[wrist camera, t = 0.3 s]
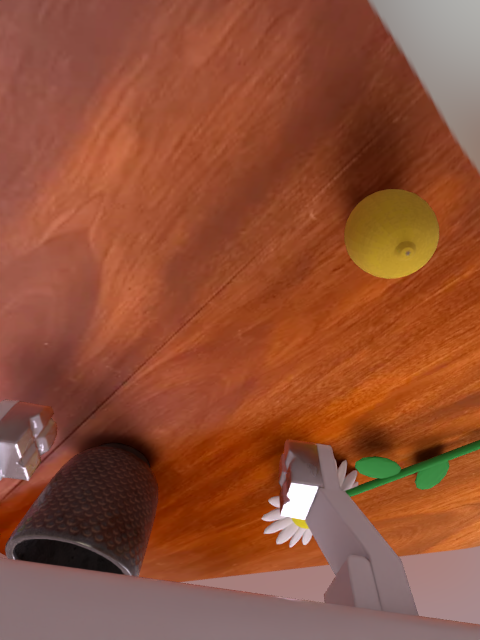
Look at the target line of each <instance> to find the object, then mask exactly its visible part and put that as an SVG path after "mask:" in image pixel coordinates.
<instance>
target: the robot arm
mask: <svg viewBox="0 0 480 640" xmlns="http://www.w3.org/2000/svg"><path fill="white" fill-rule="evenodd" d="M53 414H54V412H53V409H52V407H50V406H45V405H39V404H33V403H27V402H21V401H14V400H8V399H5V400H3V401H1V402H0V480H1V479H2V477H4V478H13V479H22V480H29V479H30V477H31V476H32V475H33V473H34V472H35V470H36V469H37V467H38V466H39V464H40V463H41V457H40V455H42V454H44V453H45V452H47V451H49V449H50V448H51V446H52V445H53V443H54V441H55V438H56V435H57V424H56V422H55V421H54V420H53V419H52V418H51V417H52V416H53ZM279 484H280V485H281V487H282V488H281V492H280V495H279V502H280V516H285V517H291V518H297V519H303V520H306V521H305V522H306V524H307V525H308V527H309V529H310V531H311V533H312V534H313V536H314V538H315V540H316V541H317V543H318V545H319V547H320V549H321V550H322V552H323V554H324V556H325V558H326V559H327V561H328V563H329V565H330V566H331V568H332V570H333V572H334V574H335V575H336V577H335V578H334V580H333V581H332V583H331V585H330V586H329V588H328V589H327V591H326V593H325V594H324V600H325V603H321V602H315V601H308V600H300V599H293V598H285V597H279V596H272V595H264V594H257V593H250V592H243V591H236V590H229V589H221V588H214V587H207V586H200V585H193V584H186V583H179V582H172V581H165V580H157V579H150V578H143V577H136V576H129V575H122V574H115V573H107V572H100V571H93V570H86V569H79V568H72V567H65V566H57V565H50V564H43V563H36V562H29V561H22V560H14V559H7V558H0V640H480V625H479V624H472V623H465V622H458V621H451V620H443V619H436V618H429V617H422V616H419V615H418V612H417V609H416V606H415V603H414V599H413V596H412V593H411V590H410V587H409V583H408V580H407V577H406V574H405V571H404V567H403V564H402V561H401V559H400V558H399V557H398V556H397V555H396V553H395V552H394V551H393V550H392V548H391V547H390V546H389V545H388V543H387V542H386V541H385V540H384V538H383V537H382V536H381V535H380V534H379V532H378V531H377V530H376V529H375V527H374V526H373V525H372V524H371V522H370V521H369V520H368V519H367V517H366V516H365V515H364V514H363V513H362V511H361V510H360V509H359V508H358V506H357V505H356V504H355V503H354V501H353V500H352V499H351V498H350V496H349V495H348V494H347V493H346V492H345V491H341V488H340V483H339V479H338V474H337V469H336V465H335V460H334V455H333V451H332V448H331V446H330V445H323V444H315V443H311V442H303V441H295V440H286V442H285V445H284V453H283V454H282V455H281V459H280V464H279Z"/></svg>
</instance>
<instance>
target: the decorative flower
mask: <svg viewBox="0 0 480 640" xmlns="http://www.w3.org/2000/svg"><path fill="white" fill-rule="evenodd" d="M478 449H480V440H478V441H475V442H473V443H470V444H467V445H465V446H462V447H459V448H457V449H454V450H451V451H449V452H446V453H444V454H441V455H438V456H436V457H433V458H430V459H428V460H425V461H422V462H420V463H417V464H414V465H412V466H409V467H406V468H404V469H401V468H400V466H399V465H398V464H397V463H396V462H394V461H392V460H390V459H387V458H382V457H376V456H374V457H365V458H362V459H360V460H359V461H357V462H356V464H355V468H356V469H357V470H358V471H359V473H361V474H363V475H366V476H368V477H373V478H377V479H375V480H372V481H369V482H367V483H364V484H361V485H359V486H358V482H355V479H356V476H357V470H353V471H352V472H351V473H349V474H348V475H347V476H346V477H345V474H346V470H347V462H346V460H345V461H343V462H342V463H341V465H340V467H339V468H338V470H337V474H338V479H339V483H340V488H341V491H345V492H346V493H347V494H348V495H349V496H350V497H351V496H354V495H357V494H360V493H362V492H365V491H368V490H370V489H373V488H376V487H378V486H381V485H384V484H387V483H389V482H392V481H395V480H397V479H400V478H403V477H405V476H408V475H411V474H413V473H416V472H418V474H417V477H416V480H415V483H416V486H417V488H419V489H422V490H423V489H429V488H432V487H433V486H435V485H436V484H438V483H440V481H441V480H442V479H443V478H444V476H445V475H446V473H447V471H448V469H449V463H448V460H451V459H454V458H457V457H459V456H462V455H465V454H467V453H470V452H473V451H475V450H478ZM334 460H335V459H334ZM335 465H336V469H337V464H336V460H335ZM354 482H355V483H354ZM268 501H269V503H270V504H272V505H273V506H275V507H280V502H279V496H275V497H272V498H270V499H269V500H268ZM262 519H263V520H264V521H274V520H277V521H275V522H273V523H272V524H271V525H269V526H268V527H267V528H266V529H265V531H264V533H266V534H269V533H274V532H277V531H279V530H282V529H283V530H282V531H281V532H280V534H279V536H278V538H277V540H276V543H277V544H282V543H284V542H285V541H287V540H288V539H289V538H291V537H292V536H293V537H292V538H291V541H290V544H289V546H290V547H292V546H294V545H295V544H296V543H297V542H298V540H299V539H300V538H301V536H302V535H303V538H302V542H303V545H306V544H307V543H308V542H309V541H310V539H311V537H312V533H311V531H310V529H309V527H308V525H307V524H306V522H305V521H306V520H303V519H297V518H291V517H285V516H280V508H278V509H275V510H272V511H270V512H269V513H267V514H265V515H264V516H263V517H262Z"/></svg>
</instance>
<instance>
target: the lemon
mask: <svg viewBox="0 0 480 640" xmlns="http://www.w3.org/2000/svg"><path fill="white" fill-rule="evenodd" d="M344 240H345V245H346V248H347V252H348V254H349V255H350V257H351V258H352V260H353V261H354V263H355V264H356V265H357V266H359V267H360V268H361V269H362V270H363V271H365V272H367V273H369V274H371V275H374V276H376V277H381V278H386V279H389V278H400V277H404V276H407V275H410V274H412V273H414V272H416V271H417V270H419V269H420V268H421V267H422V266H424V265H425V264H426V263H427V262H428V260H429V259H430V258H431V257H432V255H433V253H434V252H435V250H436V247H437V244H438V240H439V225H438V222H437V218H436V215H435V213H434V211H433V210H432V209H431V207H430V206H429V205H428V203H427V202H426V201H425V200H423V199H422V198H420V197H419V196H418V195H416V194H414V193H411V192H408V191H405V190H402V189H387V190H382V191H378V192H375V193H373V194H371V195H369V196H367V197H366V198H364V199H363V200H362V201H360V202H359V203H358V204H357V205H356V207H355V208H354V209H353V210H352V212H351V214H350V215H349V217H348V219H347V222H346V226H345V230H344Z"/></svg>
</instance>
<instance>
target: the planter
mask: <svg viewBox="0 0 480 640" xmlns="http://www.w3.org/2000/svg"><path fill="white" fill-rule="evenodd" d="M157 503H158V484H157V480H156V477H155V475H154V473H153V471H152V470H151V468H150V465H149V462H148V460H147V459H146V458H145V457H144V455H143V454H141V453H140V452H139V451H137V450H136V449H134V448H132V447H129V446H127V445H123V444H119V443H108V444H103V445H101V446H99V447H94V448H90V449H87V450H84V451H82V452H80V453H78V454H77V455H75V456H74V457H73V458H71V459H70V460H69V461H68V462H67V463H66V464H65V465H64V466H63V467H62V468H61V469H60V470H59V471H58V472H57V473H56V475H55V476H54V477H53V478H52V480H51V481H50V482H49V483H48V485H47V486H46V487H45V489H44V490H43V491H42V493H41V494H40V495H39V497H38V498H37V499H36V501H35V502H34V504H33V505H32V506H31V508H30V509H29V510H28V512H27V513H26V515H25V516H24V518H23V519H22V520H21V522H20V523H19V525H18V526H17V527H16V529H15V530H14V532H13V533H12V535H11V536H10V538H9V540H8V542H7V543H6V548H5V551H6V556H7V558H8V559H14V560H22V561H29V562H36V563H43V564H50V565H57V566H65V567H72V568H79V569H86V570H93V571H100V572H107V573H115V574H122V575H129V576H136V577H138V576H139V572H140V569H141V565H142V562H143V559H144V555H145V552H146V548H147V545H148V541H149V537H150V534H151V530H152V526H153V522H154V518H155V514H156V508H157Z"/></svg>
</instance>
